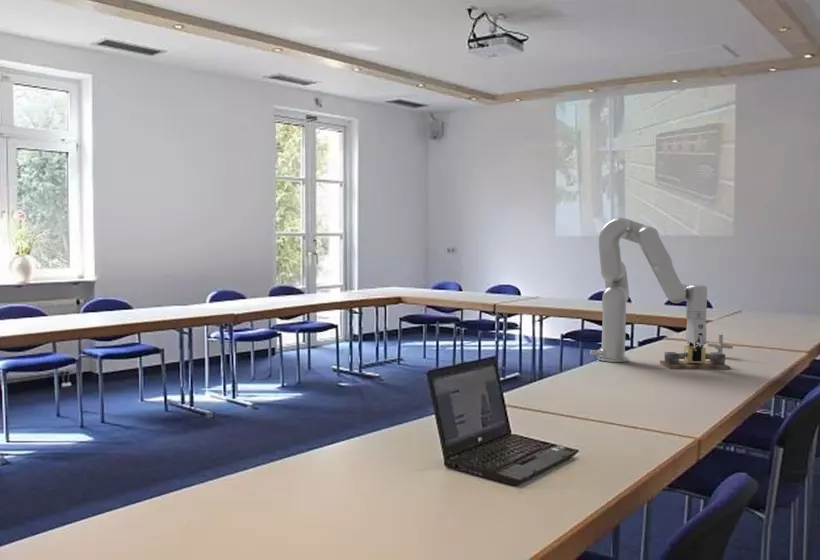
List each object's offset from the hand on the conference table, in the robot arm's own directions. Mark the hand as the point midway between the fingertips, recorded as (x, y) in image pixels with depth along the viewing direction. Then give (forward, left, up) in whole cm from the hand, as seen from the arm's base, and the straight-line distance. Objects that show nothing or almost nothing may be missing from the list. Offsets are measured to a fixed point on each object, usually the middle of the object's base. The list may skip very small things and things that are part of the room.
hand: (694, 359), depth 301 cm
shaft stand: (0, 0, -3) cm, 3 cm away
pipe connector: (+21, +23, -3) cm, 31 cm away
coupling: (0, 0, -1) cm, 1 cm away
